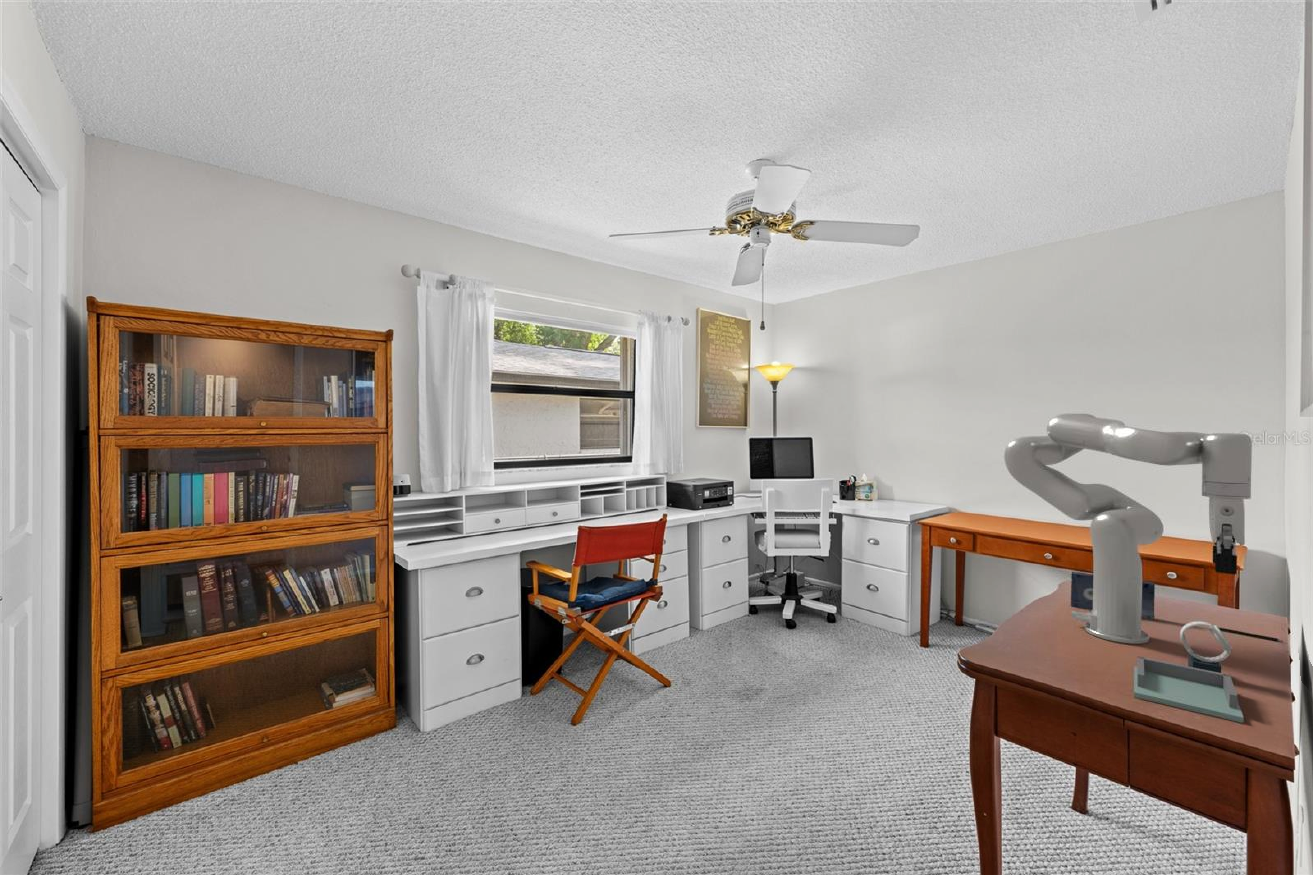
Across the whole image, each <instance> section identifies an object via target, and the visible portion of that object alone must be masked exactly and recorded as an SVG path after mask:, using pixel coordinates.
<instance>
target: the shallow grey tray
mask: <svg viewBox="0 0 1313 875" xmlns="http://www.w3.org/2000/svg"><path fill="white" fill-rule="evenodd" d="M1136 659H1137V662H1136V663H1137V664H1136V665H1135V666H1133V670H1134V671H1133V697H1134V698H1137V699H1140V700H1145V701H1149V702H1153V703H1157V704H1160V705H1166V706H1168V707H1169V706H1170V707H1173V708H1179V709H1182V710H1187V711H1191V712H1196V713H1198V714H1204V715H1206V716H1212V717H1215V718H1219V719H1224V720H1229V721H1233V722H1237V723H1242V724H1244V722H1245V720H1244V718H1245V717H1244V715H1243V712H1242V709H1241V707H1240V703H1239V700H1238V693H1237V691H1236V689H1235V685H1234V683H1233V680H1232V677H1231V675H1230V674H1227V673H1223V672H1221V673H1218V672H1213V671H1208V670H1203V669H1198V668H1193V667H1188V665H1184V664H1183V665H1181V664H1178V663H1172V662H1167V661H1162V660H1158V659H1152V658H1149V657H1143V656H1137V658H1136Z"/></svg>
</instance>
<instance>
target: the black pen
mask: <svg viewBox="0 0 1313 875" xmlns="http://www.w3.org/2000/svg"><path fill="white" fill-rule="evenodd" d="M1218 628H1219V629H1220V630H1221V632H1224V633H1225V632H1226V633H1230V634H1235V635H1236V634H1237V635H1239V636H1245V637H1250V638H1255V639H1262V640H1267V641H1271V642H1277V643H1281V644H1283V643H1284V640H1283V639H1280V638H1278V637H1272V636H1266V635H1262V634H1261V635H1260V634H1256V633H1249V632H1245V631H1241V630H1235V629H1229V628H1225V627H1219V626H1218Z"/></svg>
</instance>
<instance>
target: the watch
mask: <svg viewBox="0 0 1313 875" xmlns="http://www.w3.org/2000/svg"><path fill="white" fill-rule="evenodd" d="M1199 626H1201V627H1207V628H1209V631H1210V632H1211V633H1212V635H1213V636H1214V638H1215V639H1216V641H1217V642H1218V644H1219V645H1220V647H1221V648H1222V649H1223V650H1224V651H1223V652H1222V653H1221V654H1219V655H1217V656H1208V655H1202V654H1197V653H1195V651H1194V649H1192V648H1191V647H1190V646H1189V644H1188V642H1187V639H1186V636H1185V633H1186V632H1187V631H1188V630H1189V629H1190V628H1194V627H1199ZM1218 627H1219V626H1218V625H1216V624H1215V625H1213V624H1212V623H1210V622H1207V621H1201V620H1194V621H1189V622H1188V623H1186V624H1184V626H1182V627H1181V629H1180V631H1179V632H1180V633H1179V638H1180V641H1181V643H1182V645H1183V647H1184V648H1185V650H1186V651H1187V652H1188V655H1187V656H1188V658H1187V662H1188V663H1187V666H1188V667H1193V668H1198V669H1203V670H1208V671H1213V672H1218V673H1222V665H1221V664H1220V662H1222V661H1224V660H1226V659H1228V657H1229V656H1230V654H1231V650H1233V647H1232V645H1231V643H1230V642H1229V640H1228V638H1226V636H1225V635H1224V633H1223V631H1221V630H1220V629H1219V628H1220V627H1219V628H1218Z"/></svg>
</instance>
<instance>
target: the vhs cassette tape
mask: <svg viewBox="0 0 1313 875" xmlns="http://www.w3.org/2000/svg"><path fill="white" fill-rule="evenodd" d="M1070 575H1071V577H1070V578H1071V582H1070V583H1071V584H1070V607H1072V608H1077V609H1082V610H1087V609H1088V611H1092V610H1093V573H1092V574H1091V573H1084V572H1078V571H1073V570H1072V571H1071V574H1070ZM1155 586H1156V585H1155V582H1148V581H1144V580H1142V613H1141V618H1144V619H1143V620H1147V619H1149V620H1148V621H1154V620H1155V594H1156V592H1155V589H1156V588H1155Z"/></svg>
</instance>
